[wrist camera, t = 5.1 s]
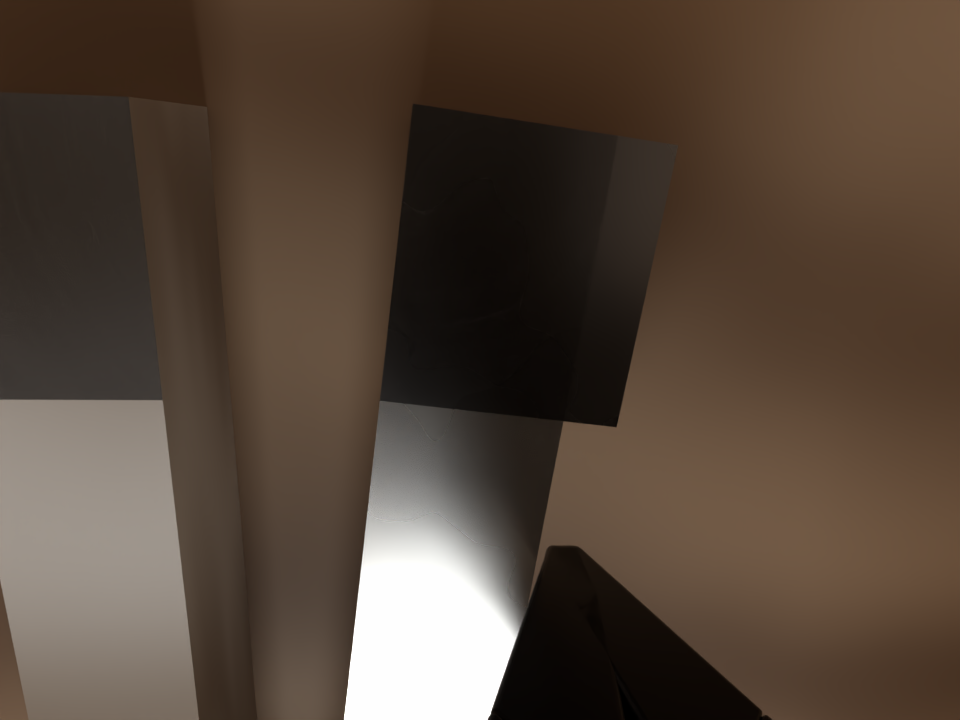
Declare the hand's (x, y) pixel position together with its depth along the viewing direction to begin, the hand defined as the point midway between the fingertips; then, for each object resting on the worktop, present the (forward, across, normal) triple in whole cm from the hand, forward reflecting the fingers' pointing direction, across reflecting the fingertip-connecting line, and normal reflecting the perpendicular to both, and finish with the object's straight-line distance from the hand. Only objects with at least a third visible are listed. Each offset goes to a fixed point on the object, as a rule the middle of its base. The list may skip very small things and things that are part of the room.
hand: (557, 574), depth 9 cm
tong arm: (+2, +1, +2) cm, 3 cm away
